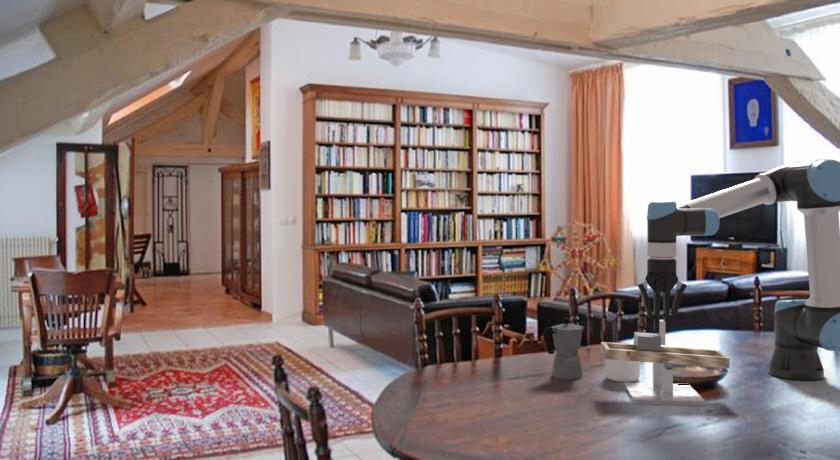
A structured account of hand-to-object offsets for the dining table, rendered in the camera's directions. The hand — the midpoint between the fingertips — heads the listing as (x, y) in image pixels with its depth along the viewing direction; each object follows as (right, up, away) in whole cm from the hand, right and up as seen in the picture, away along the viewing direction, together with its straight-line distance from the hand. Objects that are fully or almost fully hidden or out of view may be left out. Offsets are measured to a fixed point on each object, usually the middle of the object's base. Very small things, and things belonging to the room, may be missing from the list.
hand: (661, 344), depth 195 cm
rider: (-4, -3, +1) cm, 5 cm away
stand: (0, -14, 0) cm, 14 cm away
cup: (-5, -14, +19) cm, 24 cm away
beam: (0, -4, 0) cm, 4 cm away
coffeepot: (-22, -14, +23) cm, 35 cm away
